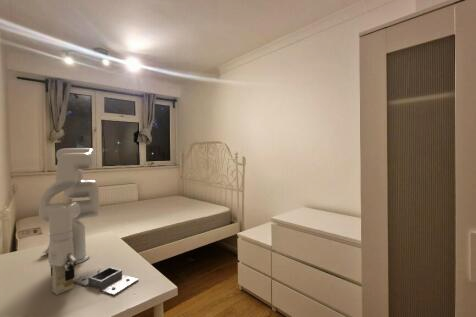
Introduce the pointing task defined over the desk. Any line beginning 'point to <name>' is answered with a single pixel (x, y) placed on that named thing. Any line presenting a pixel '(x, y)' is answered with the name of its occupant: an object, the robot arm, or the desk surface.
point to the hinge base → (107, 280)
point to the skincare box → (60, 280)
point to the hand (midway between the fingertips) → (62, 277)
